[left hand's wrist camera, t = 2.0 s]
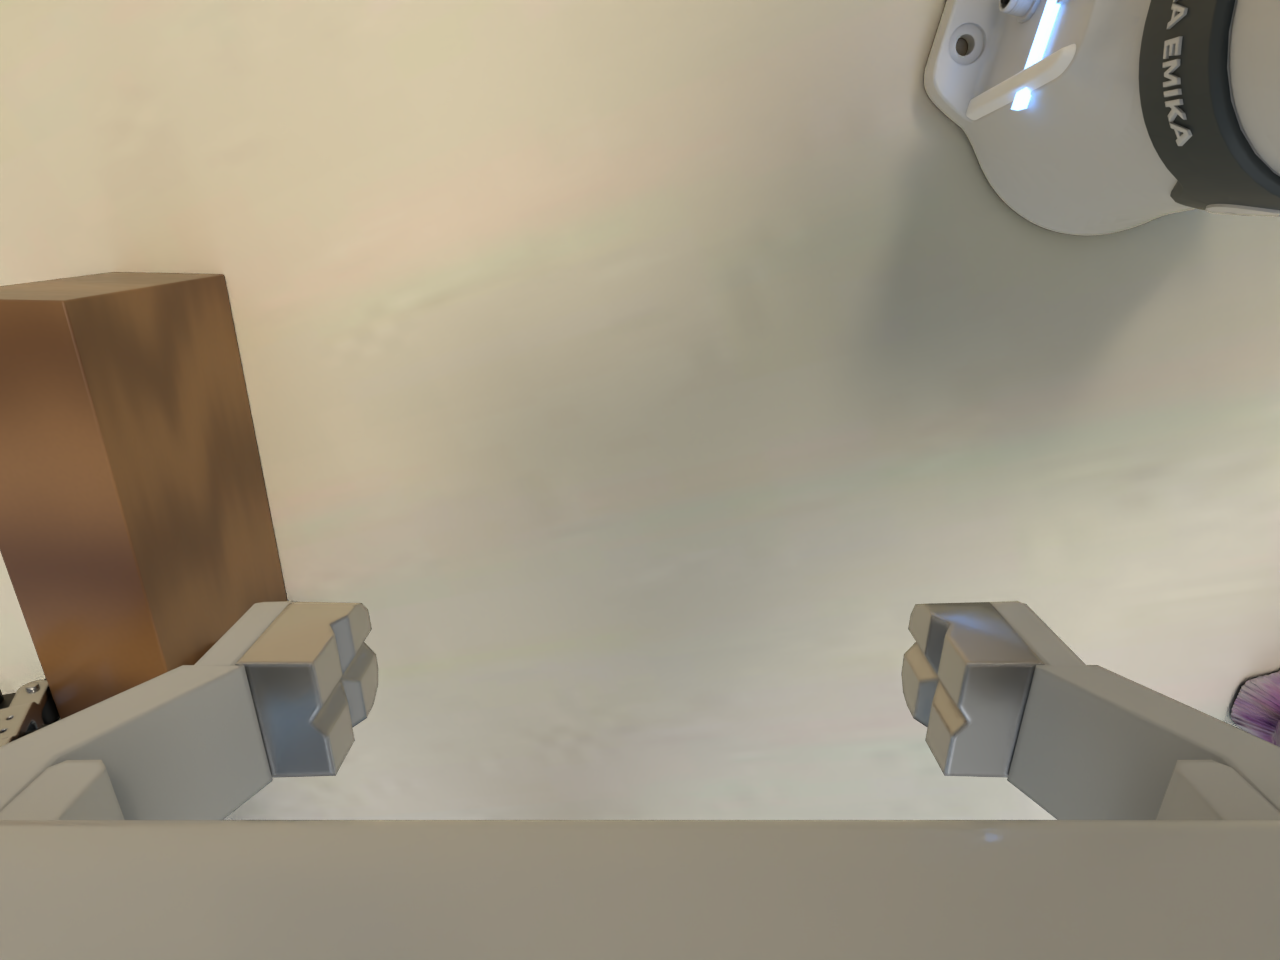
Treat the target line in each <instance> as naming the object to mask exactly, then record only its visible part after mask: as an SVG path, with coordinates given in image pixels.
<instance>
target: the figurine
mask: <svg viewBox="0 0 1280 960" xmlns="http://www.w3.org/2000/svg"><path fill="white" fill-rule="evenodd" d="M1238 694H1239V695H1238V696H1237V698H1236V699H1235V700H1236V701H1235V702H1234V705H1233V708H1232V713H1231V716H1232V717H1231V719H1232V720H1233V721H1234V723H1235V724H1236V725H1237V726H1238V727H1240V728H1241V729H1242V730H1245V731H1247V733H1250V734H1252V735H1254V736H1256V737H1259V738H1261V739H1263V740H1265V741H1267V742H1270V743H1272V744H1274V745H1276V746H1279V747H1280V671H1279V672H1276V673H1272V674H1269V675H1264V676H1259V677H1257V678H1254V679H1251V680H1248V681H1247V682H1246V684H1245V685H1243V686H1242V688H1241V689H1240V692H1239V693H1238Z"/></svg>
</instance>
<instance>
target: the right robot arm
mask: <svg viewBox="0 0 1280 960" xmlns="http://www.w3.org/2000/svg"><path fill="white" fill-rule="evenodd" d="M59 720H61V719H60V716H59V713H58V710H57V708H56V705H55V702H54V699H53V696H52V694H51V691H50V688H49V685H48V682H47V680H46V679H44V680H37V681H33V682H30V683H27V684H25V685H23V686H22V687H20V688H19V689H18V690H17V692H16V693H12V694H6V695H2V693H1V690H0V747H1V746H3V745H5V744H8V743H10V742H12V741H14V740H17V739H19V738H21V737H23V736H25V735H28V734H30V733H32V732H34V731H37V730H39V729H41V728H43V727H46V726H48V725H50V724H52V723H55V722H57V721H59Z"/></svg>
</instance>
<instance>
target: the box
mask: <svg viewBox="0 0 1280 960" xmlns="http://www.w3.org/2000/svg"><path fill="white" fill-rule="evenodd" d="M0 551H1V554H2V557H3V560H4V562H5V565H6V568H7V571H8V574H9V576H10V579H11V582H12V585H13V588H14V590H15V593H16V596H17V599H18V601H19V604H20V607H21V610H22V613H23V615H24V618H25V621H26V624H27V627H28V629H29V632H30V635H31V638H32V641H33V643H34V646H35V649H36V652H37V655H38V657H39V660H40V663H41V666H42V668H43V671H44V674H45V677H46V680H47V682H48V685H49V688H50V691H51V694H52V696H53V699H54V702H55V705H56V708H57V710H58V713H59V716H60V719H63V718H66V717H68V716H70V715H72V714H75V713H77V712H79V711H81V710H84V709H86V708H88V707H90V706H93V705H95V704H97V703H99V702H101V701H104V700H106V699H108V698H110V697H113V696H115V695H117V694H119V693H122V692H124V691H126V690H128V689H131V688H133V687H135V686H137V685H139V684H142V683H144V682H146V681H148V680H151V679H153V678H155V677H157V676H160V675H162V674H164V673H166V672H169V671H171V670H173V669H175V668H177V667H180V666H182V665H195V664H196V663H197V662H198V660H199V659H200V658H201V657H202V656H203V655H204V654H205V653H206V652H207V651H208V650H209V649H210V648H211V647H212V646H213V645H214V644H215V643H216V642H217V641H218V640H219V639H220V638H221V637H222V636H223V635H224V634H225V633H226V632H227V631H228V630H229V629H230V628H231V627H232V626H233V625H234V624H235V623H236V622H237V621H238V620H239V619H240V618H241V617H242V616H243V615H244V614H245V613H246V612H247V611H248V610H249V609H250V608H251V607H252V606H253V605H254V604H255V603H260V602H280V601H287V598H286V592H285V587H284V582H283V577H282V572H281V567H280V561H279V556H278V551H277V546H276V541H275V536H274V531H273V525H272V520H271V515H270V510H269V505H268V500H267V494H266V489H265V484H264V479H263V474H262V469H261V463H260V458H259V453H258V448H257V443H256V438H255V433H254V427H253V422H252V417H251V412H250V407H249V402H248V396H247V391H246V386H245V381H244V376H243V371H242V365H241V360H240V355H239V350H238V345H237V340H236V335H235V329H234V324H233V319H232V314H231V309H230V304H229V298H228V293H227V288H226V283H225V278H224V275H222V274H181V273H131V272H110V273H102V274H94V275H86V276H78V277H70V278H62V279H54V280H46V281H38V282H30V283H22V284H14V285H6V286H0Z"/></svg>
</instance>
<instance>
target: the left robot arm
mask: <svg viewBox="0 0 1280 960" xmlns="http://www.w3.org/2000/svg"><path fill="white" fill-rule="evenodd" d="M960 37H961V38H964V39H965V40H966V41H967V43H968V50H967V53H966V54H965V56H961V55H959V54H958V53H957V51H956V43H957V40H958V39H959V38H960ZM924 87H925V90H926V93H927V95H928V96H929V98H930V99H931V101H932V102H933V103H934V104H935V105H936V106H937V107H938V108H939V109H940V110H941V111H942V112H943V113H944V114H945V115H946V116H947V117H949V118H950V119H951V120H952V121H953V122H954V123H956V124H957V125H958V126H959V127H961V128H962V129H963V131H964V132H965V134H966V135H967V137H968V139H969V141H970V143H971V145H972V147H973V150H974V152H975V155H976V157H977V159H978V162H979V164H980V167H981V169H982V171H983V173H984V175H985V177H986V178H987V180H988V182H989V183H990V185H991V186H992V188H993V189H994V190H995V192H996V193H997V194H998V196H999V197H1000V198H1001V199H1002V200H1003V201H1004V202H1005V203H1006V204H1007V205H1008V206H1009V207H1010V208H1011V209H1012V210H1014V211H1015V212H1016V213H1017V214H1019V215H1020V216H1022V217H1023V218H1025V219H1026V220H1028V221H1030V222H1032V223H1034V224H1036V225H1038V226H1040V227H1043V228H1045V229H1048V230H1051V231H1055V232H1059V233H1063V234H1070V235H1082V236H1090V235H1104V234H1110V233H1116V232H1120V231H1124V230H1127V229H1131V228H1134V227H1137V226H1139V225H1142V224H1144V223H1147V222H1149V221H1151V220H1154V219H1156V218H1158V217H1161V216H1165V215H1168V214H1172V213H1177V212H1181V211H1186V210H1192V209H1202V210H1206V211H1207V212H1210V213H1214V214H1226V215H1245V216H1280V0H947V1H946V4H945V7H944V11H943V14H942V17H941V20H940V23H939V26H938V29H937V33H936V36H935V39H934V42H933V45H932V48H931V51H930V54H929V58H928V61H927V64H926V67H925V72H924ZM371 629H372V627H371V622H370V618H369V613H368V609H367V608H366V607H365V606H364V605H363V604H362V603H332V602H292V601H280V602H260V603H255V604H254V605H253V606H252V607H251V608H250V609H249V610H248V611H247V612H246V613H245V614H244V615H243V616H242V617H241V618H240V619H239V620H238V621H237V622H236V623H235V624H234V625H233V626H232V627H231V628H230V629H229V630H228V631H227V632H226V633H225V634H224V635H223V636H222V637H221V638H220V639H219V640H218V641H217V642H216V643H215V644H214V645H213V646H212V647H211V648H210V649H209V650H208V651H207V652H206V653H205V654H204V655H203V656H202V657H201V658H200V659H199V660H198V662H197V663H196V664H195V665H182V666H180V667H177V668H175V669H173V670H171V671H169V672H166V673H164V674H162V675H160V676H157V677H155V678H153V679H151V680H148V681H146V682H144V683H142V684H139V685H137V686H135V687H133V688H131V689H128V690H126V691H124V692H122V693H119V694H117V695H115V696H113V697H110V698H108V699H106V700H104V701H101V702H99V703H97V704H95V705H93V706H90V707H88V708H86V709H84V710H81V711H79V712H77V713H75V714H72V715H70V716H68V717H66V718H63V719H61V720H59V721H57V722H55V723H52V724H50V725H48V726H46V727H43V728H41V729H39V730H37V731H34V732H32V733H30V734H28V735H25V736H23V737H21V738H19V739H17V740H14V741H12V742H10V743H8V744H5V745H3V746H1V747H0V960H1280V747H1279V746H1276V745H1274V744H1272V743H1270V742H1267V741H1265V740H1263V739H1261V738H1259V737H1256V736H1254V735H1252V734H1250V733H1247V732H1245V731H1243V730H1241V729H1238V728H1236V727H1234V726H1232V725H1230V724H1227V723H1225V722H1223V721H1221V720H1218V719H1216V718H1214V717H1212V716H1210V715H1207V714H1205V713H1203V712H1201V711H1198V710H1196V709H1194V708H1192V707H1189V706H1187V705H1185V704H1183V703H1181V702H1178V701H1176V700H1174V699H1172V698H1169V697H1167V696H1165V695H1163V694H1160V693H1158V692H1156V691H1154V690H1152V689H1149V688H1147V687H1145V686H1143V685H1140V684H1138V683H1136V682H1134V681H1131V680H1129V679H1127V678H1125V677H1123V676H1120V675H1118V674H1116V673H1114V672H1111V671H1109V670H1107V669H1105V668H1103V667H1100V666H1098V665H1085V664H1084V662H1083V661H1082V660H1081V659H1080V658H1079V657H1078V656H1077V655H1076V654H1075V653H1074V652H1073V651H1072V650H1071V649H1070V648H1069V647H1068V646H1067V645H1066V644H1065V643H1064V642H1063V641H1062V640H1061V639H1060V638H1059V637H1058V636H1057V635H1056V634H1055V633H1054V632H1053V631H1052V630H1051V629H1050V628H1049V627H1048V626H1047V625H1046V624H1045V623H1044V622H1043V621H1042V620H1041V619H1040V618H1039V617H1038V616H1037V615H1036V614H1035V613H1034V612H1033V611H1032V610H1031V609H1030V608H1029V607H1028V606H1027V604H1024V603H1021V602H1019V601H1005V602H977V603H937V604H915V606H914V608H913V611H912V613H911V616H910V622H909V627H908V629H909V631H910V633H911V634H912V636H913V637H914V639H915V641H916V643H915V644H914V645H913V646H912V647H911V648H910V649H909V650H908V651H907V652H906V653H905V654H904V658H903V666H902V685H903V694H904V697H905V700H906V704H907V706H908V708H909V710H910V712H911V714H912V716H913V718H914V719H916V720H917V721H919V722H920V723H922V724H923V725H925V726H926V727H928V728H927V734H926V740H925V741H926V742H927V744H928V746H929V748H930V750H931V752H932V753H933V755H934V757H935V759H936V761H937V763H938V764H939V766H940V768H941V770H942V772H943V774H944V775H945V776H977V777H1008V779H1007V780H1008V781H1009V782H1010V783H1012V784H1013V785H1014V786H1015V787H1017V788H1018V789H1019V790H1020V791H1022V792H1023V793H1024V794H1025V795H1027V796H1028V797H1029V798H1031V799H1032V800H1033V801H1034V802H1036V803H1037V804H1038V805H1039V806H1041V807H1042V808H1043V809H1044V810H1046V811H1047V812H1048V813H1050V814H1051V815H1052V816H1053V817H1055V818H1056V819H1057V820H223V819H224V818H226V817H227V816H228V815H229V814H231V813H232V812H233V811H234V810H236V809H237V808H238V807H240V806H241V805H242V804H243V803H245V802H246V801H247V800H248V799H250V798H251V797H252V796H254V795H255V794H256V793H257V792H259V791H260V790H261V789H262V788H264V787H265V786H266V785H268V784H269V783H270V782H271V781H272V780H273V779H272V777H302V776H336V774H337V772H338V770H339V768H340V766H341V765H342V763H343V761H344V759H345V757H346V755H347V753H348V752H349V750H350V748H351V746H352V744H353V742H354V741H355V740H354V734H353V729H352V727H354V726H355V725H357V724H358V723H360V722H361V721H363V720H364V719H366V718H367V716H368V714H369V712H370V710H371V708H372V706H373V704H374V700H375V696H376V691H377V687H378V664H377V657H376V654H375V653H374V652H373V651H372V650H371V649H370V648H369V647H368V646H367V645H366V644H365V643H364V641H365V639H366V637H367V636H368V634H369V633H370V631H371Z"/></svg>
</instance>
